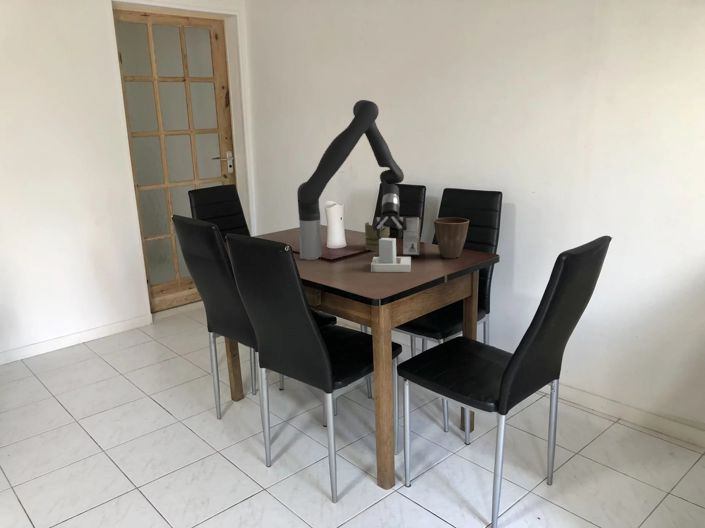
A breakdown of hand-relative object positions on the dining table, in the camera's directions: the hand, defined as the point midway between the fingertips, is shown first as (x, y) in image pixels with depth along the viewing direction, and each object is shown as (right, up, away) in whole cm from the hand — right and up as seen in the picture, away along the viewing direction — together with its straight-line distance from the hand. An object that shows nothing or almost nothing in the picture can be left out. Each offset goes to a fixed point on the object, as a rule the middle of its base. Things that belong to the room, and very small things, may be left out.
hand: (389, 237), depth 234 cm
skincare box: (-1, -13, -6) cm, 14 cm away
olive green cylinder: (-4, -4, +28) cm, 29 cm away
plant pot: (+27, -8, +9) cm, 30 cm away
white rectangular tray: (0, -12, -6) cm, 14 cm away
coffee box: (+10, -7, +9) cm, 15 cm away
